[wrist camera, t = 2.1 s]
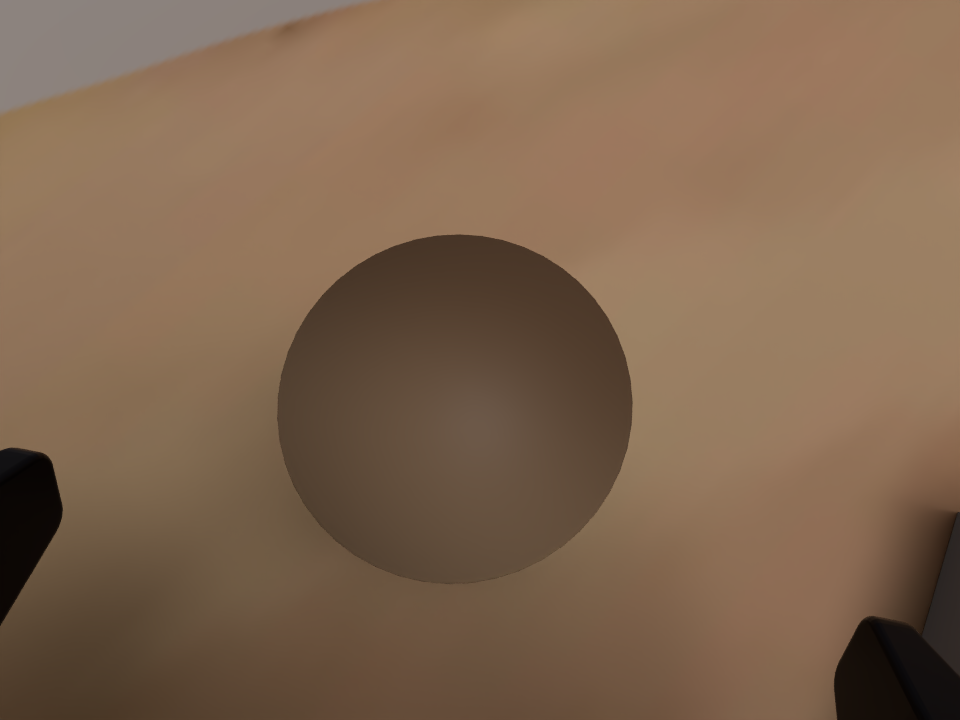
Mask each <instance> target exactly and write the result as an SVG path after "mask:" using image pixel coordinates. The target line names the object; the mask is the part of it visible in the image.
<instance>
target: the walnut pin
mask: <svg viewBox="0 0 960 720" xmlns="http://www.w3.org/2000/svg"><path fill="white" fill-rule="evenodd" d="M277 419H278V429H279V438H280V444H281V448H282V452H283V456H284V461H285V464H286V467H287V469H288V472H289V474H290V477H291V480H292V482H293V485H294V487H295V488H296V490H297V492H298V494H299V495H300V497H301V499H302V501H303V503H304V504H305V506H306V507H307V509H308V510H309V511H310V513H311V514H312V515H313V517H314V518H315V519H316V521H317V522H318V523H319V524H320V525H321V526H322V527H323V528H324V529H325V530H326V531H327V532H328V533H329V534H330V535H331V536H332V537H333V538H334V539H335V540H336V541H337V542H338V543H339V544H341V545H342V546H343V547H345V548H346V549H347V550H349V551H350V552H351V553H353V554H354V555H356V556H357V557H359V558H361V559H363V560H364V561H366V562H368V563H370V564H372V565H373V566H375V567H377V568H380V569H383V570H385V571H388V572H390V573H393V574H395V575H398V576H402V577H406V578H410V579H414V580H419V581H424V582H434V583H444V584H453V583H473V582H478V581H484V580H490V579H495V578H499V577H502V576H505V575H508V574H511V573H514V572H517V571H520V570H522V569H524V568H526V567H528V566H530V565H532V564H535V563H537V562H539V561H541V560H542V559H544V558H546V557H547V556H549V555H550V554H552V553H553V552H555V551H556V550H558V549H559V548H561V547H562V546H563V545H564V544H566V543H567V542H568V541H569V540H570V539H571V538H572V537H574V536H575V535H576V534H577V533H578V532H579V531H580V530H581V529H582V528H583V527H584V526H585V525H586V524H587V522H588V521H589V520H590V519H591V518H592V517H593V516H594V514H595V513H596V512H597V511H598V509H599V508H600V506H601V505H602V503H603V502H604V500H605V499H606V497H607V495H608V494H609V492H610V490H611V488H612V486H613V484H614V482H615V480H616V478H617V476H618V474H619V472H620V469H621V466H622V463H623V460H624V457H625V454H626V451H627V447H628V442H629V436H630V430H631V424H632V391H631V381H630V375H629V371H628V367H627V362H626V358H625V355H624V352H623V350H622V347H621V344H620V342H619V339H618V336H617V334H616V332H615V330H614V329H613V327H612V325H611V323H610V321H609V319H608V317H607V316H606V314H605V313H604V312H603V310H602V309H601V307H600V306H599V305H598V303H597V302H596V300H595V299H594V298H593V297H592V296H591V294H590V293H589V292H588V291H587V290H586V289H585V288H584V287H583V286H582V285H581V284H580V283H579V282H578V281H577V280H576V279H575V278H573V277H572V276H571V275H570V274H569V273H567V272H566V271H565V270H564V269H563V268H561V267H560V266H558V265H556V264H555V263H553V262H552V261H550V260H548V259H547V258H545V257H544V256H542V255H540V254H537V253H535V252H533V251H531V250H529V249H527V248H525V247H522V246H519V245H516V244H513V243H510V242H507V241H504V240H499V239H494V238H489V237H483V236H473V235H442V236H433V237H427V238H422V239H416V240H413V241H409V242H406V243H403V244H400V245H396V246H394V247H391V248H389V249H387V250H384V251H382V252H380V253H378V254H375V255H374V256H372V257H370V258H368V259H367V260H365V261H363V262H362V263H360V264H358V265H357V266H355V267H354V268H353V269H351V270H350V271H349V272H347V273H346V274H345V275H344V276H342V277H341V278H340V279H338V280H337V281H336V282H335V283H334V284H333V285H332V286H331V287H330V288H329V289H328V290H327V291H326V292H325V293H324V294H323V295H322V296H321V298H320V299H319V300H318V301H317V303H316V304H315V305H314V307H313V308H312V309H311V310H310V312H309V313H308V315H307V316H306V318H305V320H304V321H303V323H302V325H301V326H300V328H299V330H298V331H297V333H296V335H295V338H294V340H293V342H292V345H291V347H290V349H289V351H288V354H287V358H286V361H285V364H284V368H283V371H282V375H281V381H280V387H279V393H278V417H277Z"/></svg>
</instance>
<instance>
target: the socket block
mask: <svg viewBox="0 0 960 720" xmlns="http://www.w3.org/2000/svg"><path fill="white" fill-rule="evenodd" d="M922 637H923V638H924V639H925V640H926V641H927V642H928V643H929V644H930V645H931V646H932V647H933V648H934V649H935V650H936V651H937V653H938V654H939V655H940V656H941V657H942V658H943V659H944V660H945V661H946V662H947V663H948V664H949V665H950V666H951V667H952V668H953V669H954V670H955V671H956V672H957V673H958V675H959V676H960V512H958V514H957V517H956V521H955V524H954V527H953V531H952V534H951V538H950V541H949V545H948V548H947V551H946V555H945V558H944V562H943V565H942V569H941V572H940V575H939V579H938V582H937V586H936V589H935V593H934V596H933V599H932V603H931V606H930V610H929V613H928V617H927V620H926V624H925V627H924V630H923V634H922Z"/></svg>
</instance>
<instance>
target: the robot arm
mask: <svg viewBox="0 0 960 720" xmlns="http://www.w3.org/2000/svg"><path fill="white" fill-rule="evenodd" d="M62 511H63V507H62V502H61V498H60V493H59V489H58V485H57V481H56V476H55V472H54V468H53V464H52V461H51V460H50V458H49V457H48V456H47V455H45V454H43V453H41V452H36V451H31V450H26V449H20V448H7V449H4V450H1V451H0V625H1V624H2V622H3V620H4V619H5V617H6V615H7V614H8V612H9V610H10V609H11V607H12V605H13V604H14V602H15V600H16V599H17V597H18V595H19V593H20V592H21V590H22V588H23V587H24V585H25V583H26V582H27V580H28V578H29V577H30V575H31V573H32V572H33V570H34V568H35V567H36V565H37V563H38V562H39V560H40V558H41V557H42V555H43V553H44V552H45V550H46V548H47V547H48V545H49V543H50V541H51V540H52V538H53V536H54V535H55V533H56V531H57V529H58V527H59V525H60V522H61V519H62ZM834 692H835V703H836V713H837V720H960V676H959V675H958V673H957V672H956V671H955V670H954V669H953V668H952V667H951V666H950V665H949V664H948V663H947V662H946V661H945V660H944V659H943V658H942V657H941V656H940V655H939V654H938V653H937V651H936V650H935V649H934V648H933V647H932V646H931V645H930V644H929V643H928V642H927V641H926V640H925V639H924V638H923V637H922V636H921V635H920V634H919V633H918V632H917V631H916V630H915V629H914V628H913V627H912V626H910V625H909V624H907V623H904V622H901V621H896V620H891V619H886V618H881V617H876V616H868V617H866V618H864V619H863V620H862V621H861V622H860V624H859V625H858V627H857V629H856V631H855V633H854V635H853V636H852V638H851V640H850V642H849V644H848V646H847V648H846V650H845V652H844V653H843V655H842V657H841V659H840V661H839V663H838V665H837V668H836V672H835V678H834Z"/></svg>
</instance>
